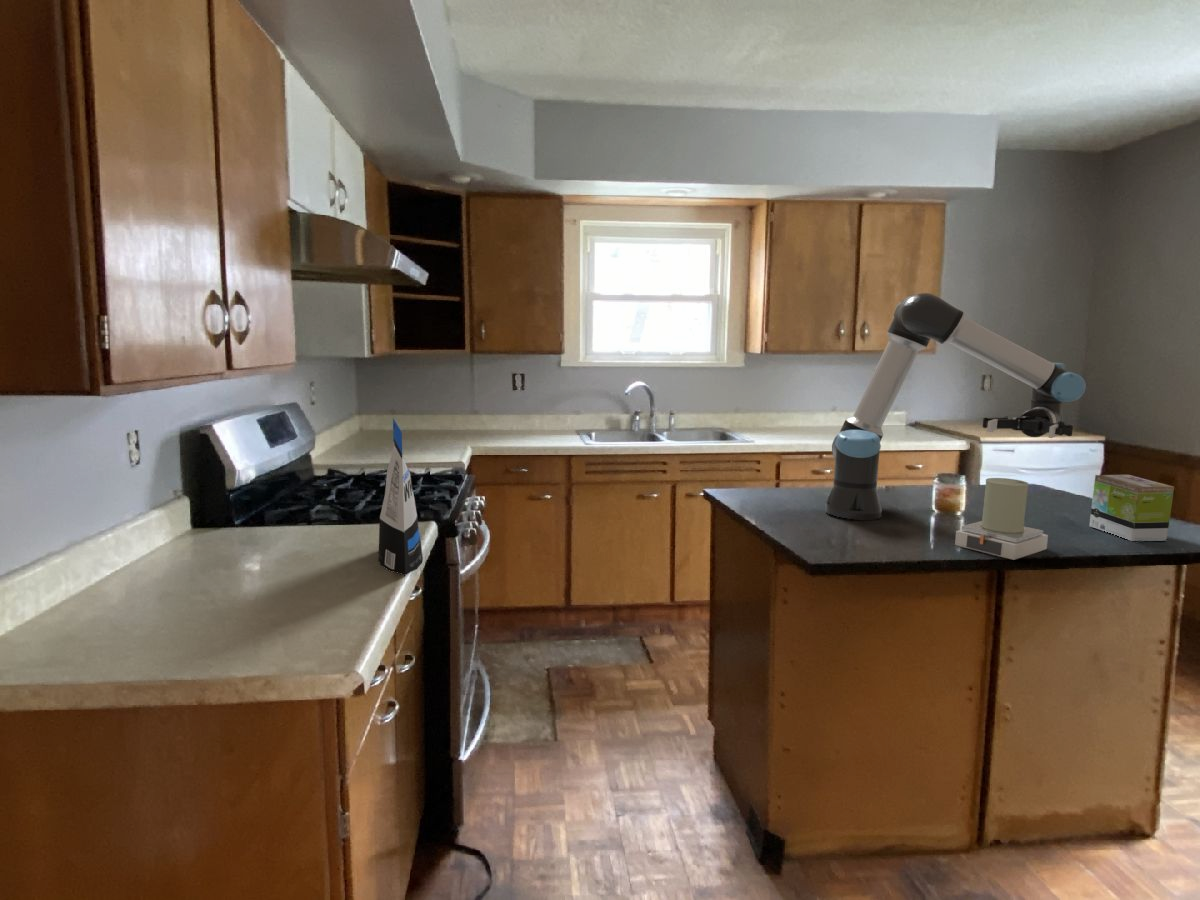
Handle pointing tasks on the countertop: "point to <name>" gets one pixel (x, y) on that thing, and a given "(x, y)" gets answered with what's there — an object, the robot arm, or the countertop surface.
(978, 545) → the scale
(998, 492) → the can
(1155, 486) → the tea box
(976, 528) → the scale pan
